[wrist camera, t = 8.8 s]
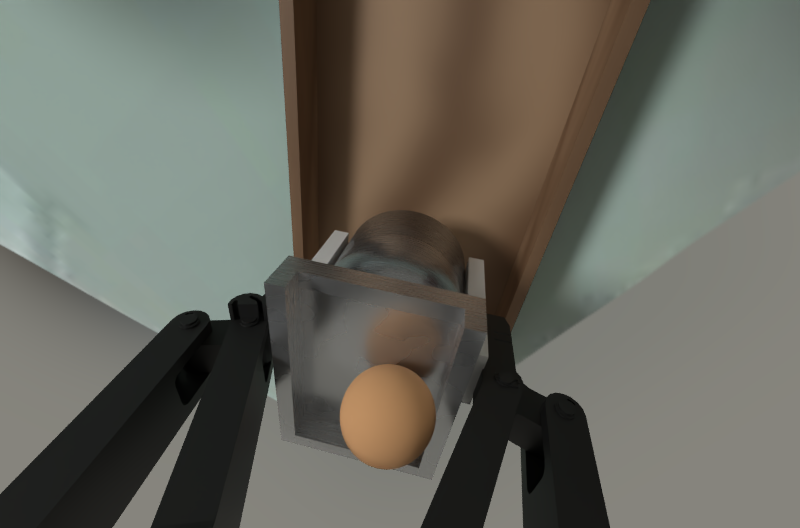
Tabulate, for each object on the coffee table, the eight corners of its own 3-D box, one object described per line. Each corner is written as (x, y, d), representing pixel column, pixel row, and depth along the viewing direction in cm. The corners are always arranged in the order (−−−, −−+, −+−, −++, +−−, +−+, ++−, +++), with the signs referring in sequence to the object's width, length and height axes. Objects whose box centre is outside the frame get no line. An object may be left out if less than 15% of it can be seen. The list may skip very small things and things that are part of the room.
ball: (401, 405, 13) (447, 469, 11) (325, 430, 12) (359, 511, 9) (409, 338, 12) (463, 393, 10) (327, 356, 11) (366, 427, 8)
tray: (315, 301, 26) (298, 327, 23) (305, -210, 12) (262, -277, 10) (491, 340, 25) (493, 372, 22) (691, -179, 11) (753, -245, 9)
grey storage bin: (345, 307, 21) (279, 438, 14) (352, 183, 16) (260, 282, 9) (447, 330, 20) (434, 480, 13) (483, 208, 16) (491, 334, 9)
